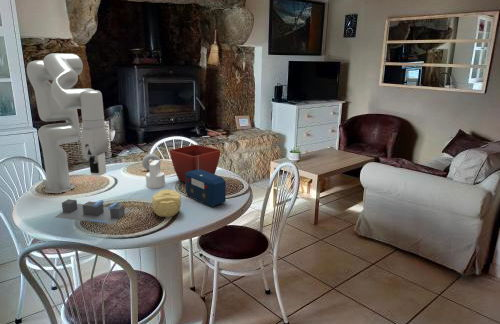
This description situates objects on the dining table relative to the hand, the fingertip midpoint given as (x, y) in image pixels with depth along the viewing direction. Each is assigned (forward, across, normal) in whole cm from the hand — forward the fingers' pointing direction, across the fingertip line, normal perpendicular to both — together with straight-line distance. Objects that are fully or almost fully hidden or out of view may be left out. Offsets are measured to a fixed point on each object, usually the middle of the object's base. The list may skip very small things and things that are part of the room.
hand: (98, 170), depth 141 cm
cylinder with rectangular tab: (+20, -41, +2) cm, 46 cm away
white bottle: (+1, 0, 0) cm, 1 cm away
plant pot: (+20, -54, +19) cm, 60 cm away
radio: (+20, -30, +32) cm, 48 cm away
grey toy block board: (+20, 0, -4) cm, 20 cm away
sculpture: (+20, -11, +23) cm, 32 cm away
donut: (+20, -63, -11) cm, 67 cm away
